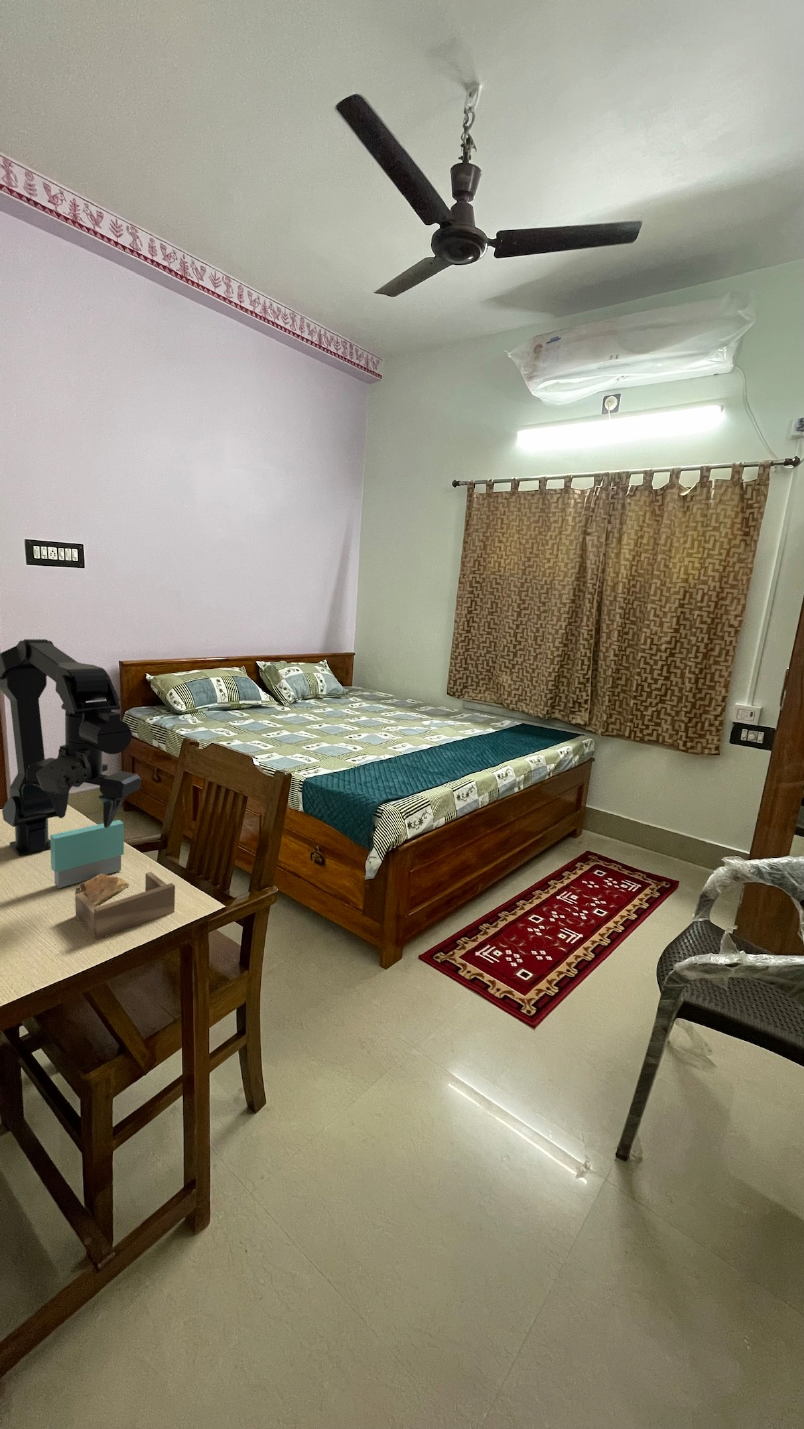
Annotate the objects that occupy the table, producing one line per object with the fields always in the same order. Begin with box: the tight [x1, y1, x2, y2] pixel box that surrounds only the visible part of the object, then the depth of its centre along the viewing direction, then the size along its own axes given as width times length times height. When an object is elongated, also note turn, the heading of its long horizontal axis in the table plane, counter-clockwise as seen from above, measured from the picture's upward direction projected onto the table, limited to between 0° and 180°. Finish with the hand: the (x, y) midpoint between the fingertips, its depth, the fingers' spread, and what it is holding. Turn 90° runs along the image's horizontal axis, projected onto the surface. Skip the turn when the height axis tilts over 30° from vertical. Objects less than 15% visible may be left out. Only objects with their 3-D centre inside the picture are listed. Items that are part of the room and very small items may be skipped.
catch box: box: [74, 871, 176, 941], centre depth 97 cm, size 9×13×5 cm
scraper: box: [49, 819, 125, 889], centre depth 106 cm, size 2×12×10 cm, turn 139°
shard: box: [78, 874, 130, 907], centre depth 102 cm, size 11×8×2 cm
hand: (84, 822), depth 102 cm, fingers open, 9 cm apart
